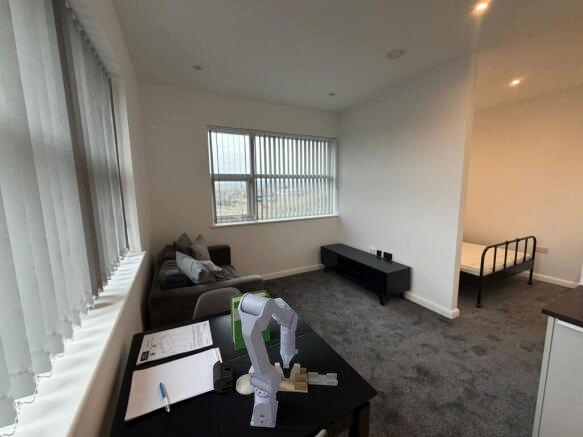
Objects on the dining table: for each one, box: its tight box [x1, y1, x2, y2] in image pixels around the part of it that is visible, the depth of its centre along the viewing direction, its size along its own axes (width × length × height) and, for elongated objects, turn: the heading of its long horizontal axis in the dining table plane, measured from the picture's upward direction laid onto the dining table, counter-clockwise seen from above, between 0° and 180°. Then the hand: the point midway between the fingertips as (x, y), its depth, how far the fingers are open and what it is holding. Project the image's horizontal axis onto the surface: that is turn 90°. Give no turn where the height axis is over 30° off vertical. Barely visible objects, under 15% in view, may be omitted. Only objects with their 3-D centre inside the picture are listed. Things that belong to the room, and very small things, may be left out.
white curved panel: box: [274, 362, 301, 379], centre depth 98 cm, size 2×10×6 cm, turn 86°
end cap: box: [212, 359, 234, 394], centre depth 96 cm, size 10×7×7 cm
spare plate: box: [235, 373, 255, 395], centre depth 96 cm, size 9×9×1 cm
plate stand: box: [307, 371, 339, 386], centre depth 98 cm, size 5×12×2 cm, turn 86°
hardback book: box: [230, 289, 271, 352], centre depth 121 cm, size 18×7×24 cm, turn 116°
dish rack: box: [273, 365, 308, 393], centre depth 96 cm, size 9×16×4 cm, turn 86°
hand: (287, 371), depth 98 cm, fingers open, 6 cm apart
